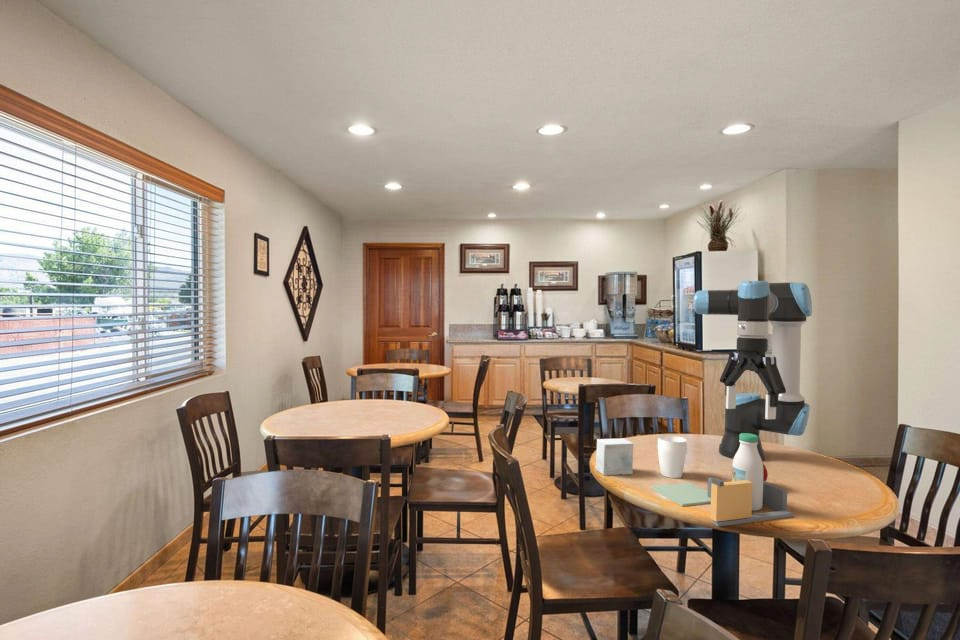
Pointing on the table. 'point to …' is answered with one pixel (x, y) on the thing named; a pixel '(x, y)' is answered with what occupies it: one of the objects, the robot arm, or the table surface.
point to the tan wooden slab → (730, 500)
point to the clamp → (771, 498)
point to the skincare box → (614, 456)
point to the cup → (671, 455)
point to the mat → (684, 493)
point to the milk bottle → (749, 467)
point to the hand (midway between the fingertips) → (749, 413)
